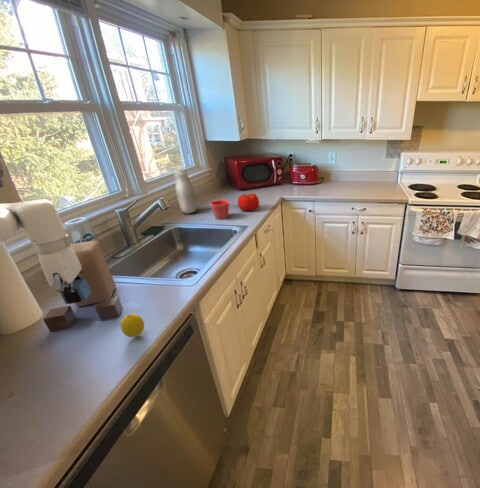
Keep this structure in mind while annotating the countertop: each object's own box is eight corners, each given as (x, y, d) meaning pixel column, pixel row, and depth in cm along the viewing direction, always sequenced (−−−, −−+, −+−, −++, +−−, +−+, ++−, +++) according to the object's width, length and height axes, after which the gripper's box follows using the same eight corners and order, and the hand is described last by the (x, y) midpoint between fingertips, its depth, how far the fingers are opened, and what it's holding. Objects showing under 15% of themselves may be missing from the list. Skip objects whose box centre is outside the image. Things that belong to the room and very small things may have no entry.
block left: (50, 332, 85) (42, 319, 83) (57, 321, 89) (50, 309, 87) (70, 327, 87) (63, 314, 85) (76, 317, 91) (70, 305, 89)
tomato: (257, 205, 196) (255, 191, 191) (261, 211, 185) (259, 195, 180) (237, 208, 191) (235, 193, 186) (240, 214, 180) (238, 198, 176)
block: (76, 308, 95) (50, 256, 87) (85, 292, 103) (62, 244, 95) (111, 300, 99) (90, 250, 90) (117, 286, 107) (98, 238, 98)
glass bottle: (189, 209, 189) (179, 167, 177) (201, 211, 186) (192, 168, 174) (178, 214, 181) (167, 170, 169) (190, 216, 178) (180, 171, 165)
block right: (101, 321, 89) (95, 308, 87) (105, 311, 94) (100, 299, 91) (119, 317, 91) (114, 304, 89) (122, 308, 95) (118, 296, 93)
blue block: (65, 304, 84) (58, 290, 82) (72, 295, 88) (65, 281, 86) (86, 300, 85) (79, 286, 83) (91, 291, 90) (85, 278, 87)
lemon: (133, 329, 86) (125, 308, 82) (151, 329, 86) (143, 308, 82) (121, 342, 81) (112, 321, 77) (140, 343, 81) (131, 321, 77)
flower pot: (225, 213, 182) (223, 198, 178) (234, 217, 175) (231, 202, 171) (210, 217, 176) (207, 202, 171) (218, 221, 169) (215, 206, 164)
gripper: (49, 235, 84) (74, 285, 92) (18, 260, 70) (51, 317, 78) (79, 231, 87) (101, 280, 95) (56, 255, 73) (83, 310, 81)
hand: (78, 296), depth 86 cm, fingers closed on blue block, 5 cm apart
